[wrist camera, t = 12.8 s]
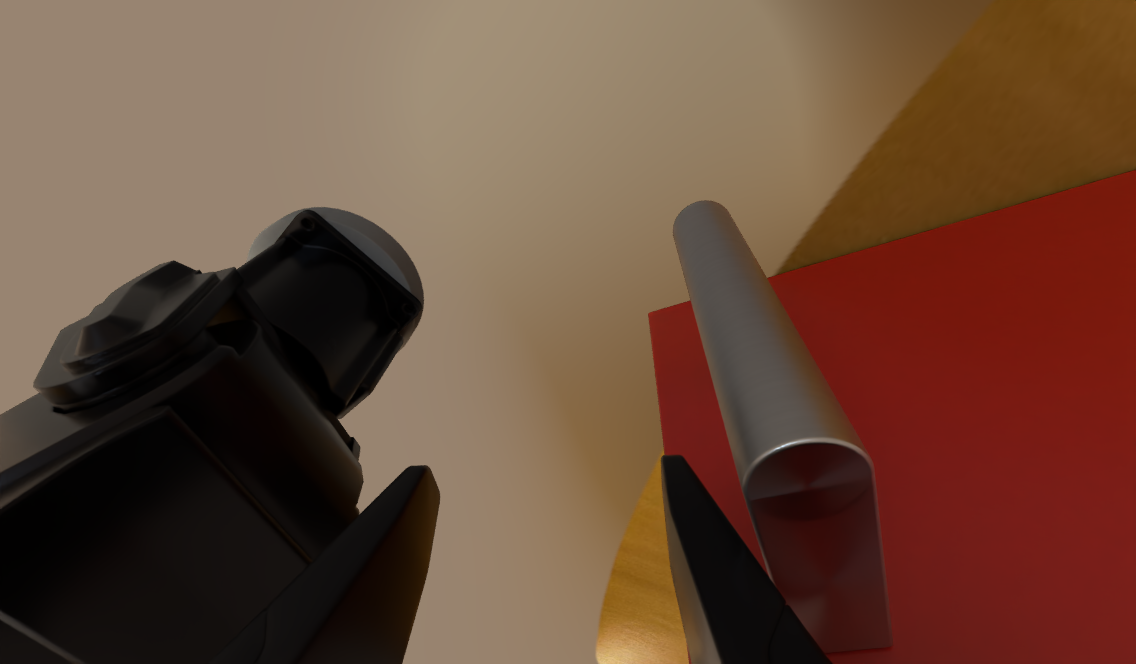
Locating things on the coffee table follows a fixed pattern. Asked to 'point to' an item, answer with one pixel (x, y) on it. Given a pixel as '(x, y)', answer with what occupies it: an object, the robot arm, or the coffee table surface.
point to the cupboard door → (924, 428)
